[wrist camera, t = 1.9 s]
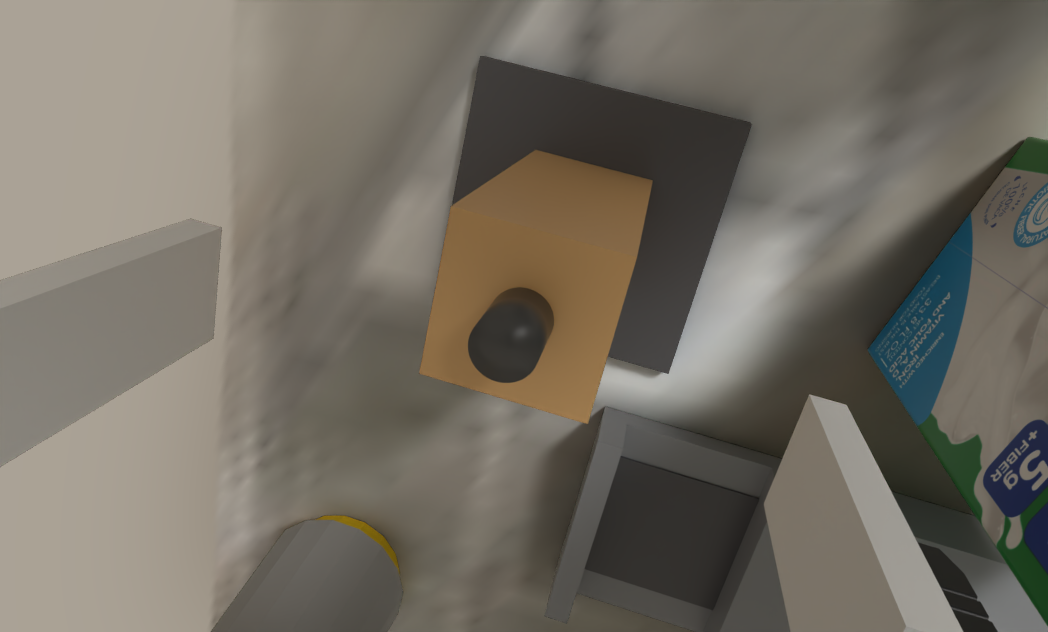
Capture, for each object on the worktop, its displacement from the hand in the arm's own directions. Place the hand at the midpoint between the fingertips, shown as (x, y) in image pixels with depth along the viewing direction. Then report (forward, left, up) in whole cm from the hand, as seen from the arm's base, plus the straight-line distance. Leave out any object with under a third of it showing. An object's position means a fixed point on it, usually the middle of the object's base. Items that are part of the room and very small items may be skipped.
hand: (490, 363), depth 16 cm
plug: (0, 0, -13) cm, 13 cm away
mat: (0, 0, -14) cm, 14 cm away
